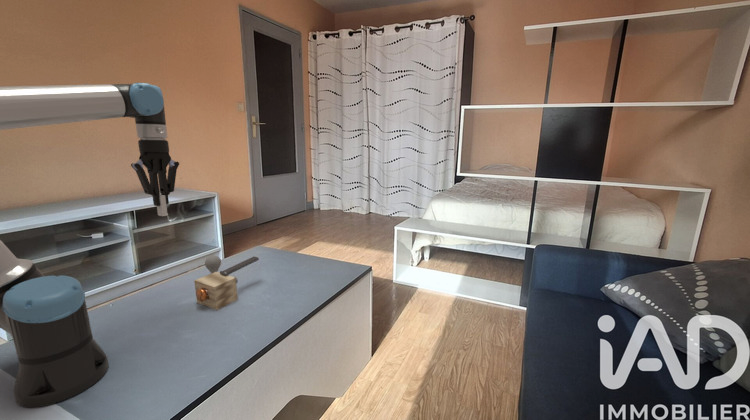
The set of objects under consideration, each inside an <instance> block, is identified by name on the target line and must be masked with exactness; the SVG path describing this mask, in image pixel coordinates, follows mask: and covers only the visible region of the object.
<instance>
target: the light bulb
mask: <svg viewBox="0 0 750 420" xmlns="http://www.w3.org/2000/svg"><path fill="white" fill-rule="evenodd" d="M204 261H205V262H204V266H205V267H206V269H207V270H208V271H209V272H210V274H212V273H214V272H219V269H220V267H221V265H222V260H221V258H220V256H217V255H210V256H208V257H207V258H206V259H205V260H204Z"/></svg>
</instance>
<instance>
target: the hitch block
mask: <svg viewBox="0 0 750 420" xmlns="http://www.w3.org/2000/svg"><path fill="white" fill-rule="evenodd" d="M235 277H236V276H232V275H230V274H229V275H228V276H225V275H222V274H220V272H219V271H218V272H214V273H212V274H211V273H209V274H207V275H204V276H203V277H202V276H201V277H199V278H197V279H194V281H193V282H194V290H195V292H196V291H197V290H199V289H201V288H203V289H204V290H205V289H208V292H209V296H208V297H207V300H205V301H203V302H201V301H199V300H198V298H197V296H196V295H195V297H196V298H195V299H196V304H200V305H202V306H205V307H208V308H210V309H212V310H216V311H218V310H220V309H222V308H224V307H227V306H228V305H230V304H232V303H234V302H235V301H238V289H237V288H238V287H237V283H236V278H237V277H236V278H235Z"/></svg>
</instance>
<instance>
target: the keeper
mask: <svg viewBox="0 0 750 420" xmlns="http://www.w3.org/2000/svg"><path fill="white" fill-rule="evenodd" d="M257 261H260V260H259V257H258V256H252V257H250V258H248V259H246V260H243V261H240V262H239V263H237V264H234V265H233V266H230V267H228V268H226V269H224V270H220V272H219V273H220V274H222V275H225V276H228V275H229V276H230V275H231V274H233V273H235V272H237V271H240V270H242V269H243V268H245V267H247V266H250V265H252V264H253V263H256V262H257Z"/></svg>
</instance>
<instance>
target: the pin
mask: <svg viewBox="0 0 750 420" xmlns="http://www.w3.org/2000/svg"><path fill="white" fill-rule="evenodd" d="M234 277H235V278H236V284H237V283H238V278H237V277H236V276H234ZM196 296H197V298H198V300H199V301H201V302H203V301H205V300H207V297H208V296H209V292H208V289H205V290H204V289H203V288H201V289H199V290H197V291H195V297H196ZM197 298H196V299H197Z"/></svg>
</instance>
